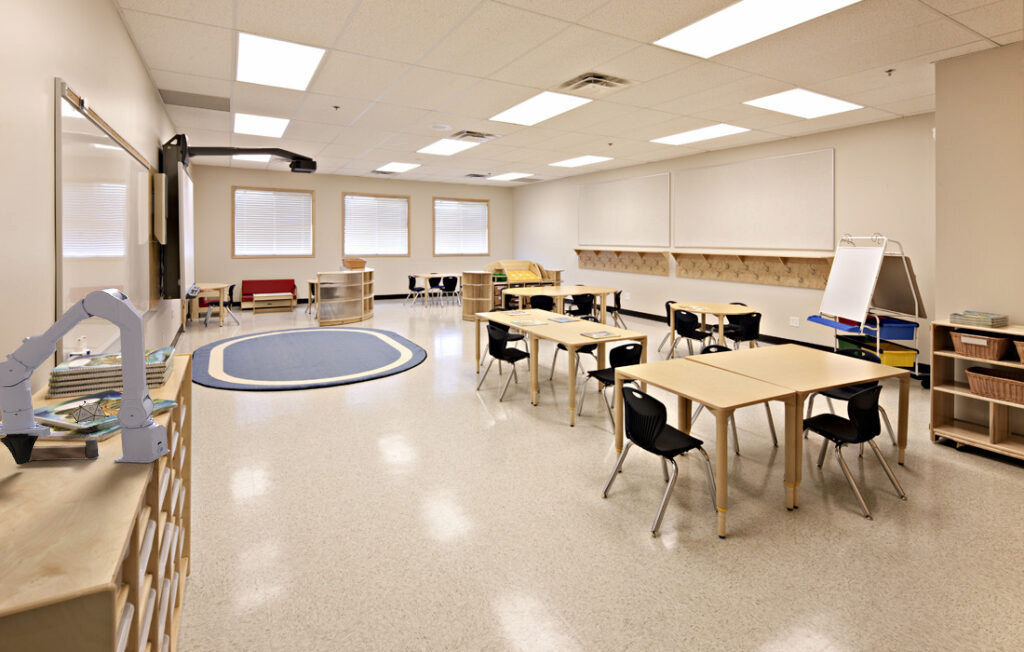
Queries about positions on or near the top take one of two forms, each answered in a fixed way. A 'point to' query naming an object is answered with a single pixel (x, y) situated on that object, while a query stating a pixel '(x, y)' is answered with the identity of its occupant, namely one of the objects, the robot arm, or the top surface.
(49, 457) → the gate
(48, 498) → the top surface
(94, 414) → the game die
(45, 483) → the top surface
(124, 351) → the robot arm
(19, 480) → the top surface
